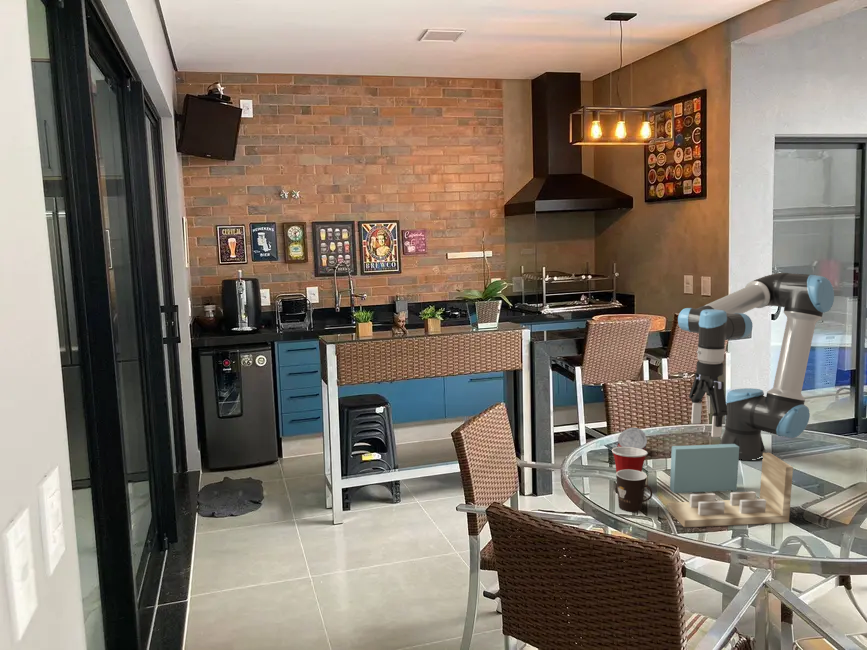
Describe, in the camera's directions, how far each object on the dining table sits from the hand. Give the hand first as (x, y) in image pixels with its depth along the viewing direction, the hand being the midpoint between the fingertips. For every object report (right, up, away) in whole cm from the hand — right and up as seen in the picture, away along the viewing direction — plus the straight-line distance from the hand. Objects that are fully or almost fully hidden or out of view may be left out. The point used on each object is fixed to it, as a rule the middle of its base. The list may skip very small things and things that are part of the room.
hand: (705, 429), depth 225 cm
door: (0, -19, +3) cm, 19 cm away
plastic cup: (-22, -19, +6) cm, 30 cm away
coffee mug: (-25, -22, -11) cm, 35 cm away
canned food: (-13, -14, +37) cm, 41 cm away
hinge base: (0, -22, -16) cm, 27 cm away
